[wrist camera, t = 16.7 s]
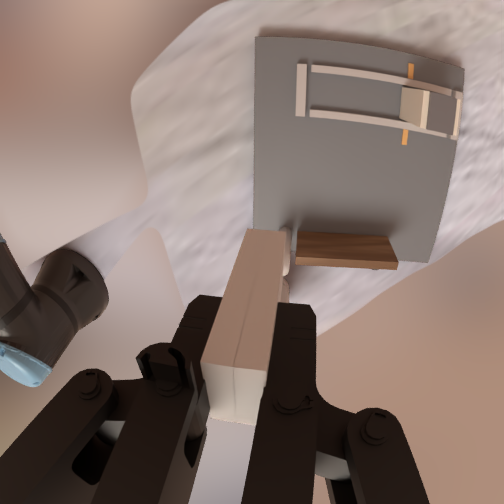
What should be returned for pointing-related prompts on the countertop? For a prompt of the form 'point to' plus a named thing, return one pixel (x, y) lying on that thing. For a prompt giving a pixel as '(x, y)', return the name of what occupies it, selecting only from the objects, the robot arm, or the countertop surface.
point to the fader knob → (430, 110)
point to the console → (348, 143)
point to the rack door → (345, 250)
